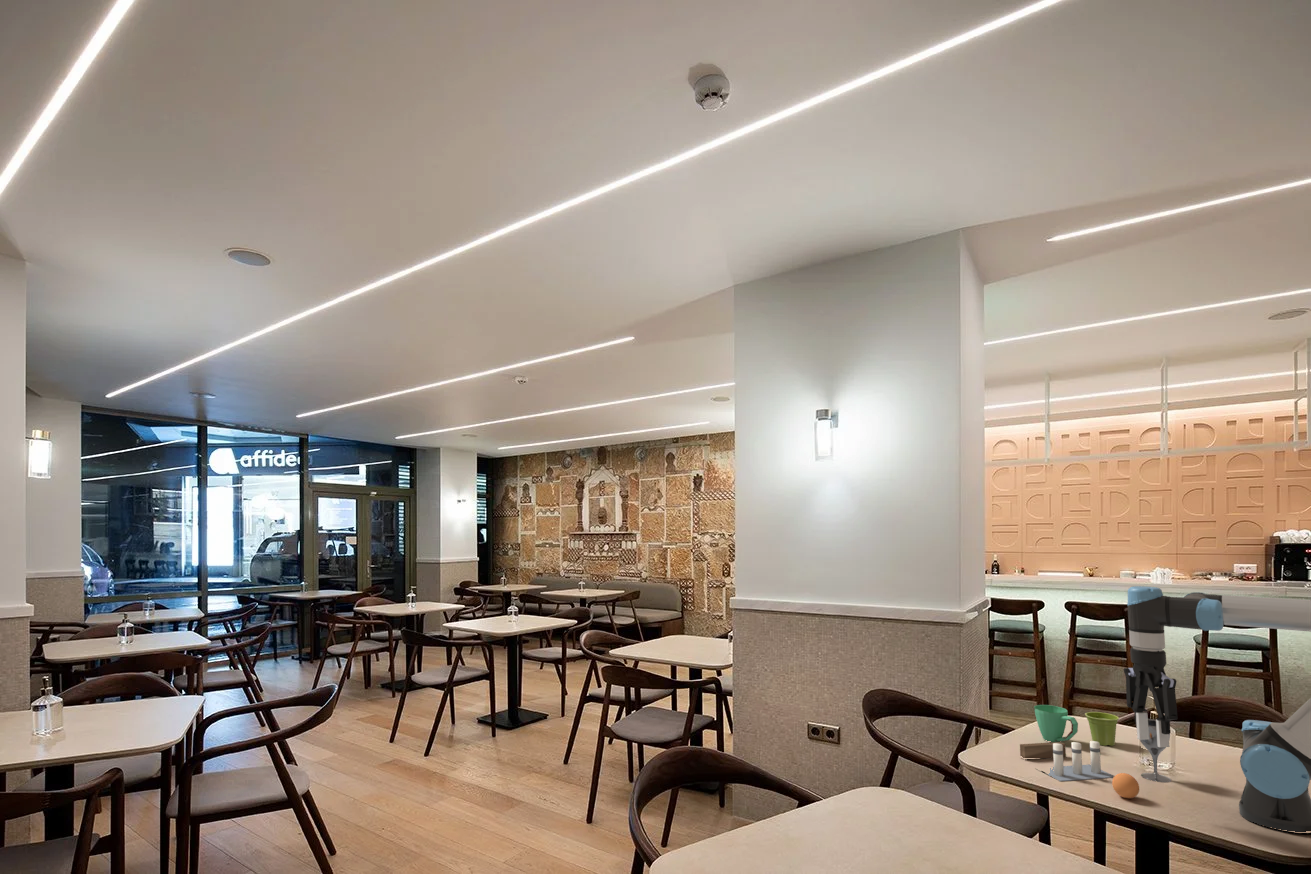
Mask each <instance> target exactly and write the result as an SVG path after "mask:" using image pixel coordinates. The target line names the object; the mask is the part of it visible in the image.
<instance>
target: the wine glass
mask: <svg viewBox="0 0 1311 874" xmlns="http://www.w3.org/2000/svg"><path fill="white" fill-rule="evenodd" d="M1135 726H1136V728H1137V724H1135ZM1148 731H1149V739H1146V740H1139V741H1140V743H1141V744H1142V745H1143V747H1144V748H1145V749H1146V751H1148V752H1149V753H1150V755H1151V758H1152V759H1151V760H1152V764H1153V772H1143V773H1141V774H1140V777H1142V778H1144V779H1146V780H1148V781H1151V780H1152V782H1156V781H1157V783H1170V782H1172V779H1171V778H1170V777H1168V776H1166V775H1163V774H1160V773H1159V772H1158V759H1159V755H1160V754H1161V753H1163V752H1164V750H1166V748H1167V747H1158V745H1157V729H1156V719H1153V718H1152V719H1151V718H1148ZM1170 740H1171V733H1170V734H1169V741H1170Z"/></svg>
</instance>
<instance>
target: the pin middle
mask: <svg viewBox="0 0 1311 874" xmlns="http://www.w3.org/2000/svg"><path fill="white" fill-rule="evenodd" d="M1070 748H1071V761H1072V763H1071V764H1072V765H1071V766H1073V774H1076V775H1083V773H1082V765H1083V759H1082V756H1083V755H1082V752H1083V751H1082V743H1080V742H1076V741H1073V742H1072V741H1071V747H1070Z"/></svg>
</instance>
